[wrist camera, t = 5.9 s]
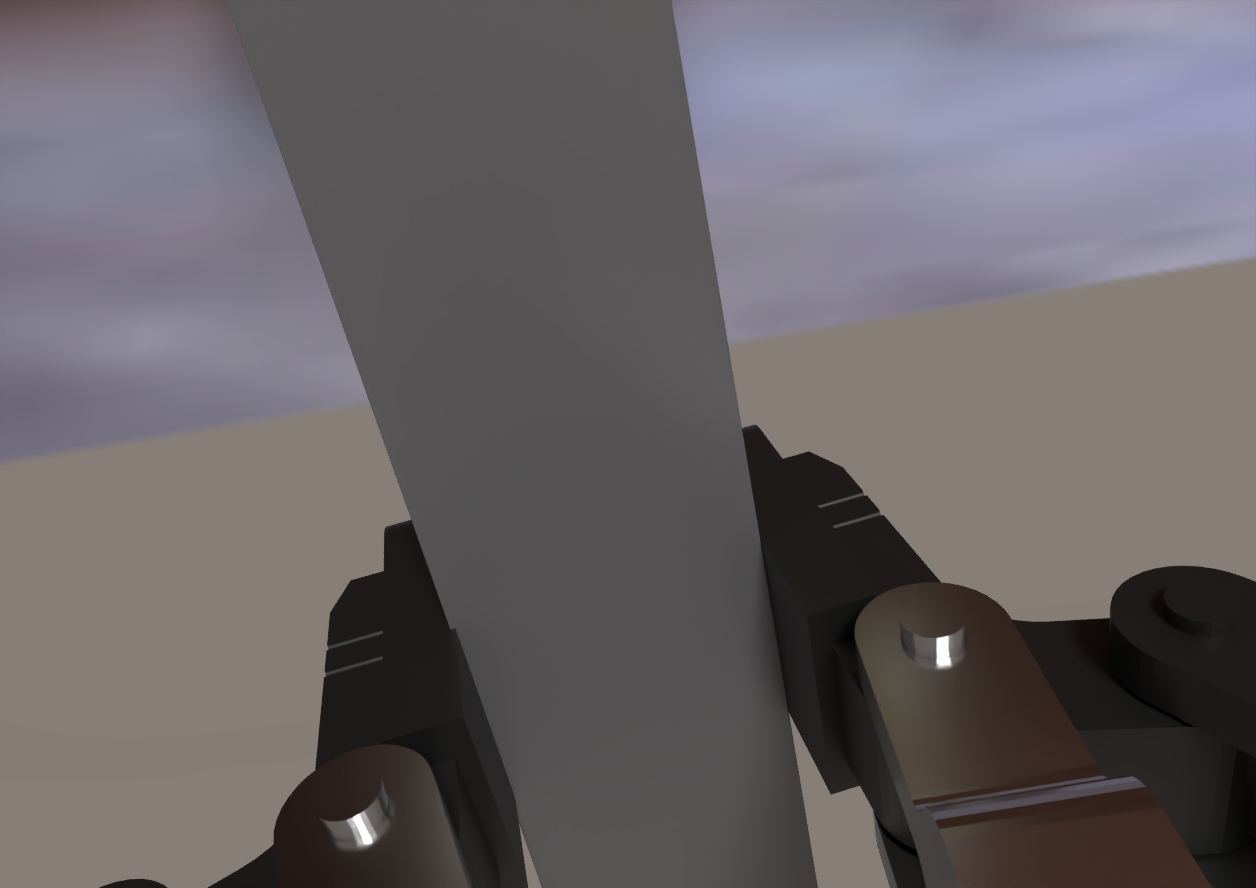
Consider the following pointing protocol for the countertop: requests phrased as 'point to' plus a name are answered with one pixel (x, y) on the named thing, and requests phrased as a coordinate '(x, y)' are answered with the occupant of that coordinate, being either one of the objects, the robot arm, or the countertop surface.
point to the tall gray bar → (555, 408)
